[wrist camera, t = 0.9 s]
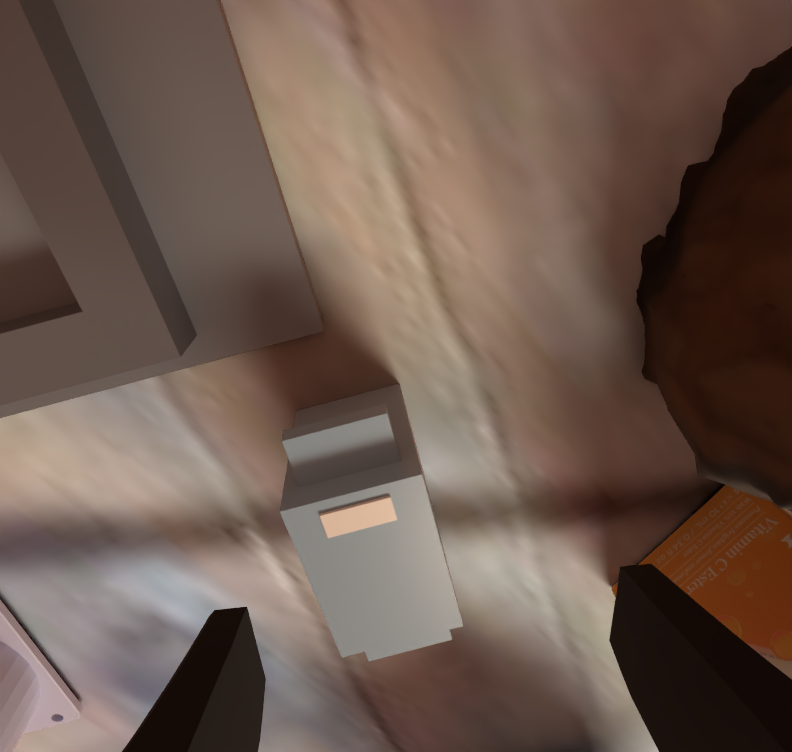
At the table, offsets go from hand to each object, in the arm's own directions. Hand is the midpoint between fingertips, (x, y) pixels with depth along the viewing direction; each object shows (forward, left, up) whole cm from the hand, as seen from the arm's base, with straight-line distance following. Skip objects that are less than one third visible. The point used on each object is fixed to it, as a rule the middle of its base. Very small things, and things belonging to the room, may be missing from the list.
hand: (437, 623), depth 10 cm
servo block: (-2, -3, -11) cm, 11 cm away
